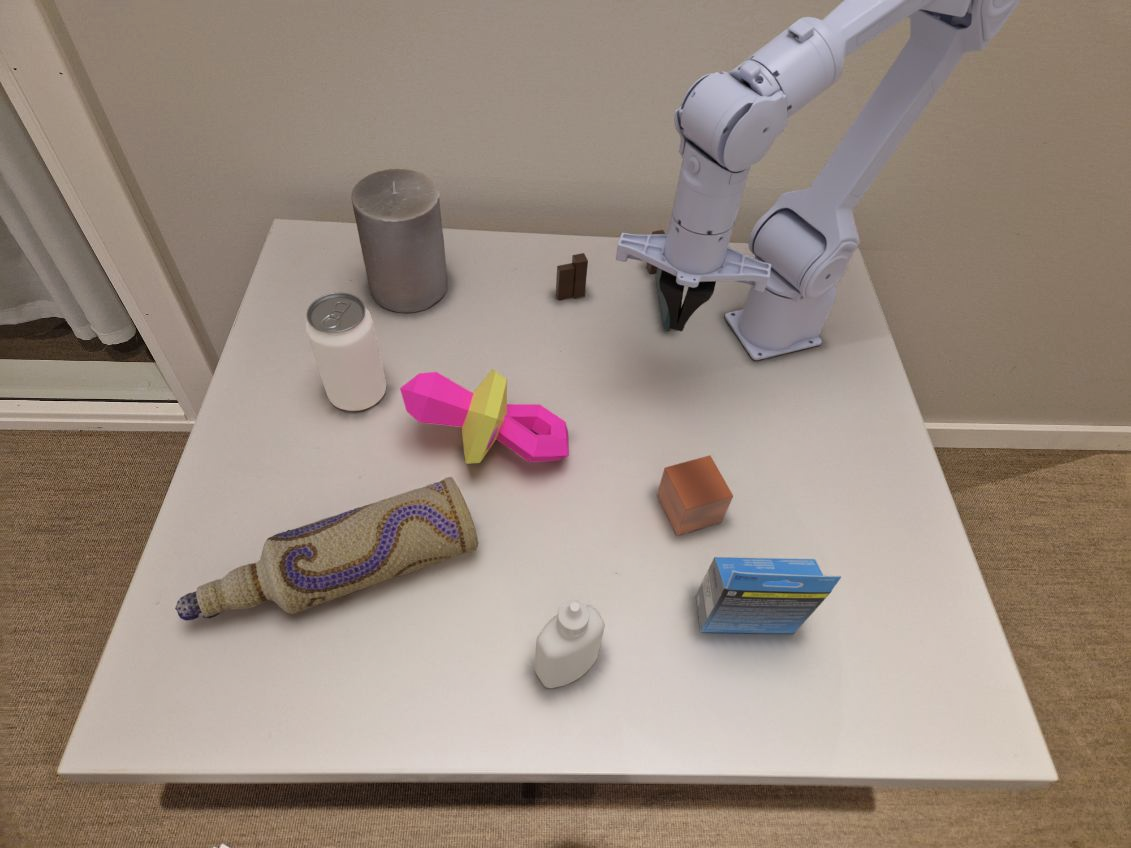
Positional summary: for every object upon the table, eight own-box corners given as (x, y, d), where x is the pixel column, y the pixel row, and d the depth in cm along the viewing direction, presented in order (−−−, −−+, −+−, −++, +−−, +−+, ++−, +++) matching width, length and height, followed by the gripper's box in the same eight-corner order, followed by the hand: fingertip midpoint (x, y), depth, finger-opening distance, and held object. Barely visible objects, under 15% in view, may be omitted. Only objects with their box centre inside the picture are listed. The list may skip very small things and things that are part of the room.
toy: (550, 509, 74) (589, 426, 69) (376, 456, 70) (404, 365, 65) (551, 457, 82) (585, 380, 78) (395, 407, 79) (422, 323, 74)
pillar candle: (369, 264, 93) (347, 160, 82) (445, 258, 95) (435, 155, 83) (370, 317, 88) (347, 213, 76) (452, 310, 89) (442, 207, 77)
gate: (554, 295, 92) (556, 259, 87) (671, 259, 97) (678, 223, 92) (560, 304, 91) (562, 268, 86) (678, 267, 96) (686, 231, 92)
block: (700, 482, 76) (710, 454, 72) (722, 522, 73) (733, 496, 69) (656, 494, 74) (664, 467, 70) (676, 536, 72) (686, 509, 68)
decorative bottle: (458, 497, 73) (453, 460, 68) (482, 561, 69) (479, 527, 64) (184, 583, 66) (155, 549, 61) (193, 660, 62) (162, 631, 57)
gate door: (663, 329, 88) (670, 297, 84) (655, 277, 94) (661, 245, 90) (678, 329, 89) (686, 298, 84) (668, 277, 94) (675, 245, 90)
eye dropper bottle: (533, 640, 64) (535, 580, 55) (596, 637, 65) (609, 578, 55) (535, 690, 62) (537, 637, 52) (600, 687, 62) (615, 633, 53)
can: (317, 406, 79) (289, 327, 70) (342, 363, 83) (319, 283, 73) (373, 419, 78) (353, 341, 69) (396, 375, 82) (380, 296, 73)
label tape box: (787, 596, 68) (832, 532, 58) (796, 638, 66) (844, 578, 56) (694, 594, 68) (724, 529, 58) (699, 636, 65) (731, 576, 56)
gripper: (615, 225, 64) (601, 334, 75) (780, 259, 62) (741, 366, 73) (631, 180, 68) (616, 289, 79) (786, 211, 66) (749, 319, 77)
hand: (677, 323), depth 76 cm, fingers closed
